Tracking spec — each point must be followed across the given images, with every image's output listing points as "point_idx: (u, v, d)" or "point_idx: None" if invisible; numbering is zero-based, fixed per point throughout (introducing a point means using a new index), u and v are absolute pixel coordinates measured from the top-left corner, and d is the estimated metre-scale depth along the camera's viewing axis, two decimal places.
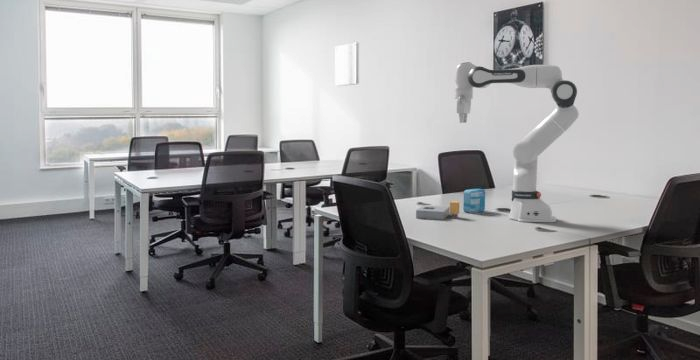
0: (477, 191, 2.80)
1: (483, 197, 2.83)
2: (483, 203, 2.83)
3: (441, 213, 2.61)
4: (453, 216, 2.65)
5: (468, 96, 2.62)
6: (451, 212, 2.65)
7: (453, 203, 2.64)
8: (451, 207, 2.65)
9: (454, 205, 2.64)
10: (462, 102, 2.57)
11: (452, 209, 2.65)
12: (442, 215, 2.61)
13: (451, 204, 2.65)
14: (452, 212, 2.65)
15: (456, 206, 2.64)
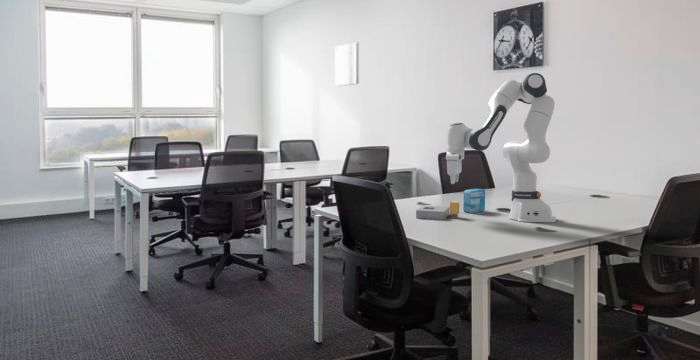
0: (477, 191, 2.80)
1: (483, 197, 2.83)
2: (483, 203, 2.83)
3: (441, 213, 2.61)
4: (453, 216, 2.65)
5: None
6: (451, 212, 2.65)
7: (453, 203, 2.64)
8: (451, 207, 2.65)
9: (454, 205, 2.64)
10: None
11: (452, 209, 2.65)
12: (442, 215, 2.61)
13: (451, 204, 2.65)
14: (452, 212, 2.65)
15: (456, 206, 2.64)
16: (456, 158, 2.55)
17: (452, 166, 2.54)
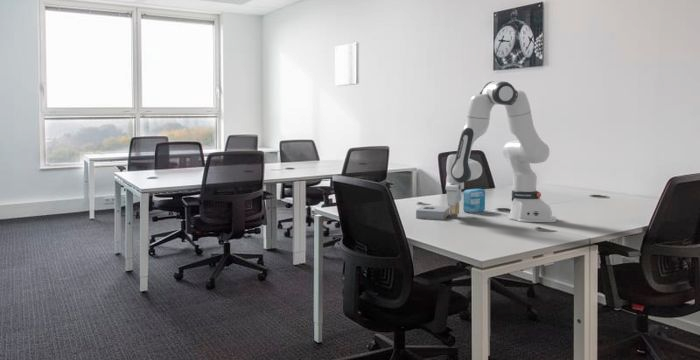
0: (477, 191, 2.80)
1: (483, 197, 2.83)
2: (483, 203, 2.83)
3: (441, 213, 2.61)
4: (453, 216, 2.65)
5: None
6: (451, 212, 2.65)
7: None
8: None
9: None
10: None
11: None
12: (442, 215, 2.61)
13: None
14: None
15: (456, 206, 2.64)
16: (456, 189, 2.56)
17: (452, 197, 2.56)
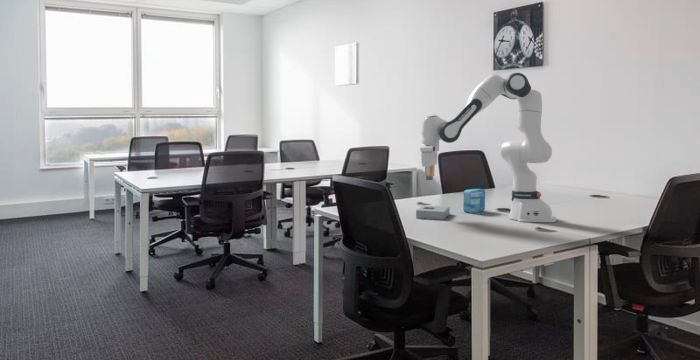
0: (477, 191, 2.80)
1: (483, 197, 2.83)
2: (483, 203, 2.83)
3: (441, 213, 2.61)
4: (428, 178, 2.68)
5: None
6: (426, 174, 2.68)
7: None
8: None
9: None
10: None
11: None
12: (442, 215, 2.61)
13: None
14: None
15: (431, 168, 2.67)
16: (430, 150, 2.59)
17: (426, 157, 2.59)
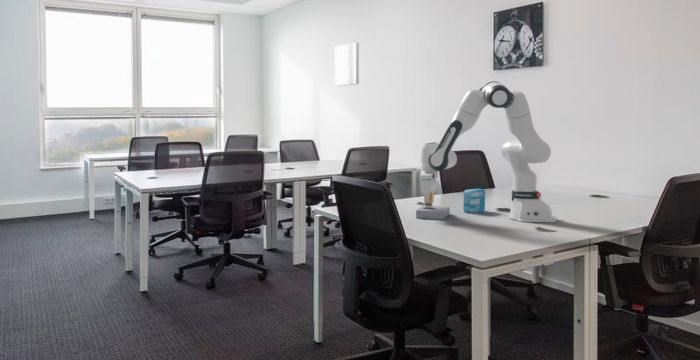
0: (477, 191, 2.80)
1: (483, 197, 2.83)
2: (483, 203, 2.83)
3: (441, 213, 2.61)
4: (427, 205, 2.69)
5: None
6: (425, 201, 2.69)
7: None
8: (425, 196, 2.69)
9: None
10: None
11: None
12: (442, 215, 2.61)
13: None
14: None
15: (430, 195, 2.68)
16: (430, 177, 2.60)
17: (426, 185, 2.60)
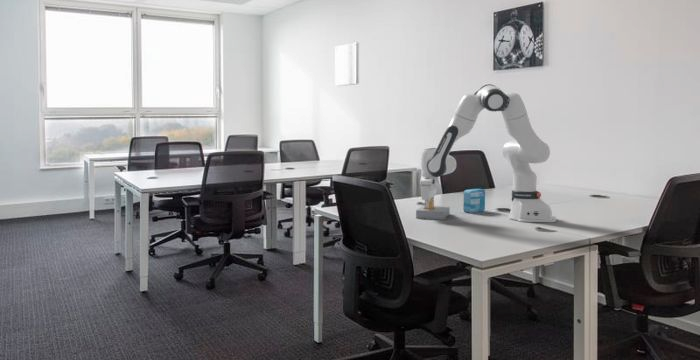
0: (477, 191, 2.80)
1: (483, 197, 2.83)
2: (483, 203, 2.83)
3: (441, 213, 2.61)
4: None
5: None
6: None
7: None
8: None
9: None
10: None
11: (426, 208, 2.70)
12: (442, 215, 2.61)
13: None
14: None
15: (430, 205, 2.69)
16: (430, 183, 2.61)
17: (426, 191, 2.61)
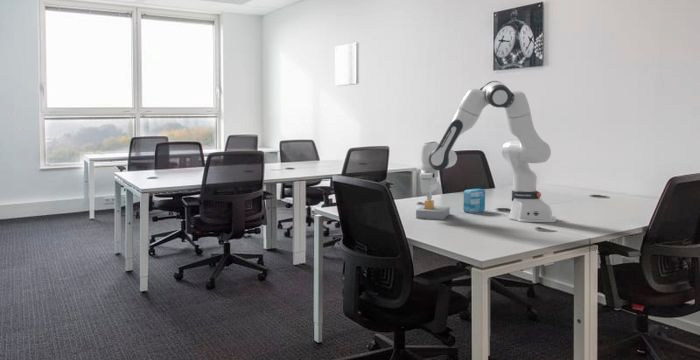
0: (477, 191, 2.80)
1: (483, 197, 2.83)
2: (483, 203, 2.83)
3: (441, 213, 2.61)
4: None
5: None
6: None
7: (428, 202, 2.69)
8: (426, 206, 2.70)
9: (429, 204, 2.69)
10: None
11: (426, 208, 2.70)
12: (442, 215, 2.61)
13: (426, 203, 2.69)
14: None
15: (430, 205, 2.69)
16: (430, 177, 2.60)
17: (426, 184, 2.60)
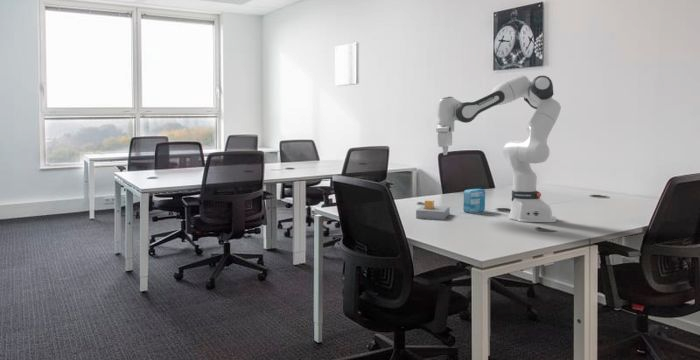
0: (477, 191, 2.80)
1: (483, 197, 2.83)
2: (483, 203, 2.83)
3: (441, 213, 2.61)
4: None
5: None
6: None
7: (428, 202, 2.69)
8: (426, 206, 2.70)
9: (429, 204, 2.69)
10: None
11: (426, 208, 2.70)
12: (442, 215, 2.61)
13: (426, 203, 2.69)
14: None
15: (430, 205, 2.69)
16: (446, 130, 2.65)
17: (443, 138, 2.65)
